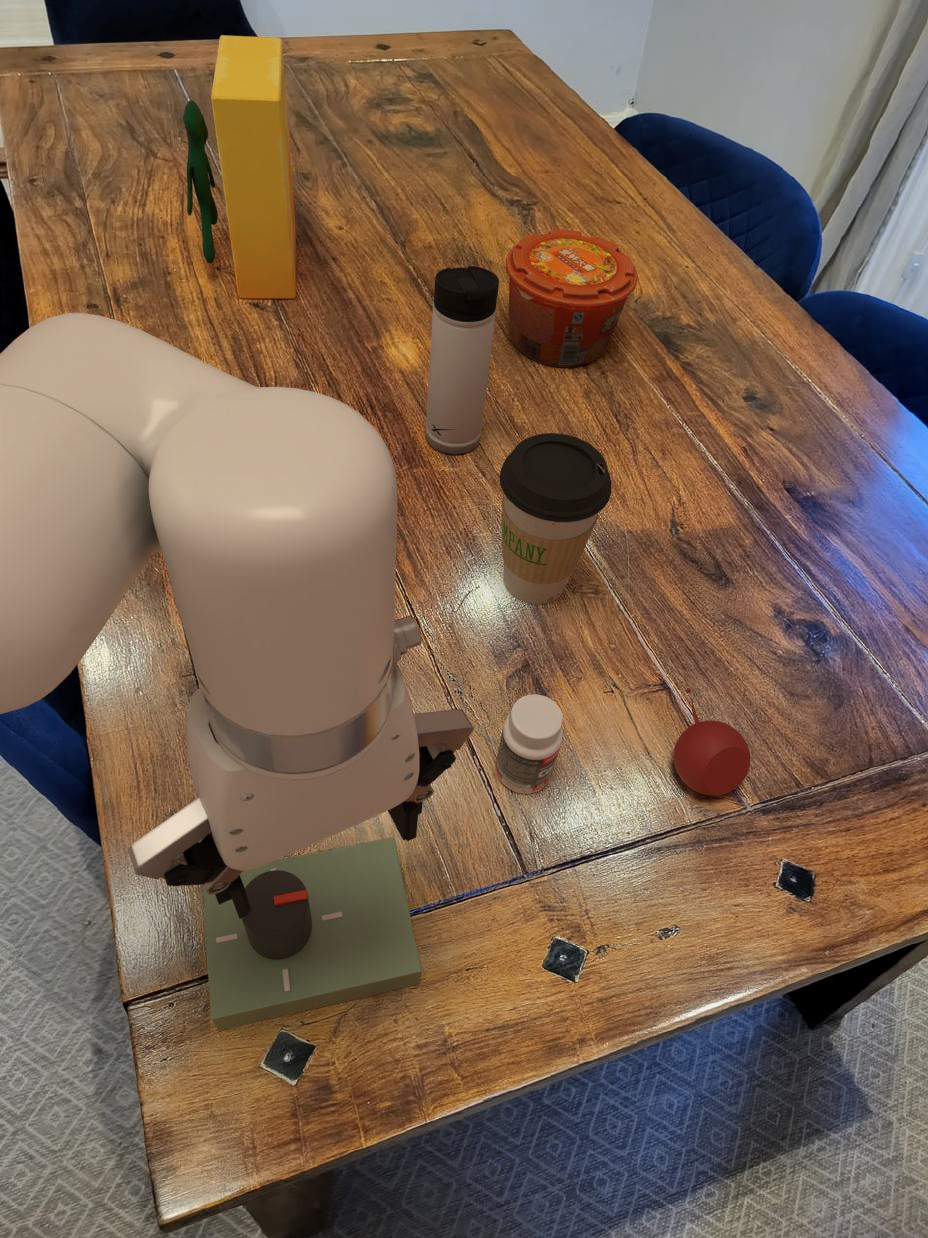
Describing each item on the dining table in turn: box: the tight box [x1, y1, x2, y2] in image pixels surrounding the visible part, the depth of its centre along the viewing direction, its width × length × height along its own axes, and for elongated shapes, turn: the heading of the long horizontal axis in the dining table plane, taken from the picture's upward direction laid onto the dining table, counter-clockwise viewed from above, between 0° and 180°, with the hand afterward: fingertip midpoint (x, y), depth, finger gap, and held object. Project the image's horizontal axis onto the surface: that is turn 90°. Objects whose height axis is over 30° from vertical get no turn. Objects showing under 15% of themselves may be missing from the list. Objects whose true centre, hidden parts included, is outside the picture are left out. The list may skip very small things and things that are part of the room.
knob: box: [242, 870, 312, 960], centre depth 59 cm, size 4×4×5 cm
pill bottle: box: [495, 693, 564, 795], centre depth 70 cm, size 5×5×8 cm
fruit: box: [673, 687, 751, 796], centre depth 73 cm, size 6×6×8 cm
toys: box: [182, 34, 297, 300], centre depth 108 cm, size 18×12×24 cm
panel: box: [201, 836, 423, 1032], centre depth 62 cm, size 14×10×3 cm
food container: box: [505, 229, 639, 368], centre depth 108 cm, size 16×16×11 cm
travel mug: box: [424, 265, 500, 455], centre depth 91 cm, size 6×7×20 cm
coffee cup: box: [499, 432, 613, 605], centre depth 81 cm, size 10×10×15 cm
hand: (320, 854), depth 49 cm, fingers open, 9 cm apart
